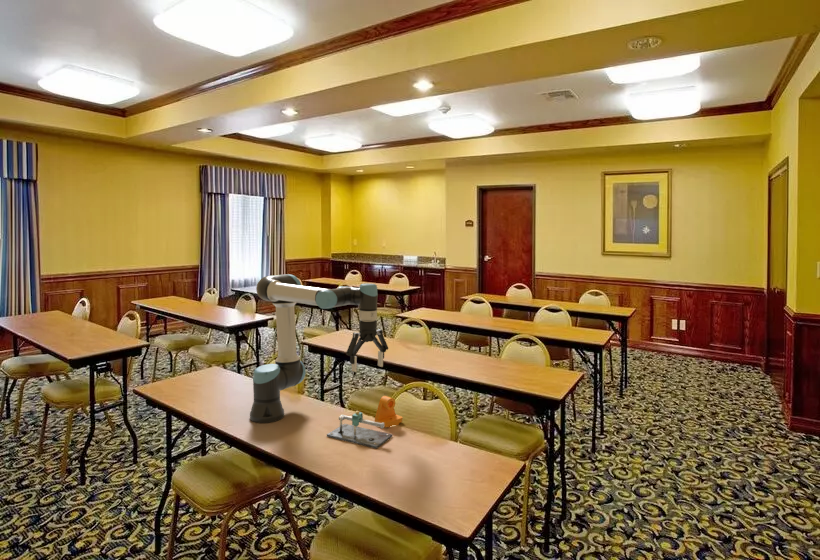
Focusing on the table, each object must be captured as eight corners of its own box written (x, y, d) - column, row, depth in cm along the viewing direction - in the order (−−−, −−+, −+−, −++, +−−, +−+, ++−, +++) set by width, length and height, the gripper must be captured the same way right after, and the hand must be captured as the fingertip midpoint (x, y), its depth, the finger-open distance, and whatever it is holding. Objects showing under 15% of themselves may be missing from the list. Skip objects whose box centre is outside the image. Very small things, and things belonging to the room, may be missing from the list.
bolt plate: (326, 436, 198) (326, 433, 198) (344, 425, 210) (344, 423, 210) (376, 448, 188) (376, 445, 188) (392, 436, 199) (392, 433, 199)
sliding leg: (351, 434, 197) (352, 412, 197) (357, 430, 201) (357, 409, 201) (356, 435, 196) (356, 413, 196) (362, 431, 200) (362, 410, 199)
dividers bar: (337, 432, 201) (337, 416, 200) (342, 429, 204) (342, 413, 203) (380, 442, 191) (380, 425, 191) (384, 439, 194) (384, 422, 194)
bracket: (385, 429, 207) (385, 402, 206) (374, 424, 212) (374, 398, 211) (403, 423, 214) (403, 397, 213) (392, 418, 219) (392, 393, 218)
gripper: (347, 324, 192) (347, 375, 194) (396, 318, 208) (395, 366, 210) (338, 321, 198) (337, 371, 200) (386, 316, 214) (385, 362, 216)
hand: (367, 368), depth 205 cm, fingers open, 13 cm apart
